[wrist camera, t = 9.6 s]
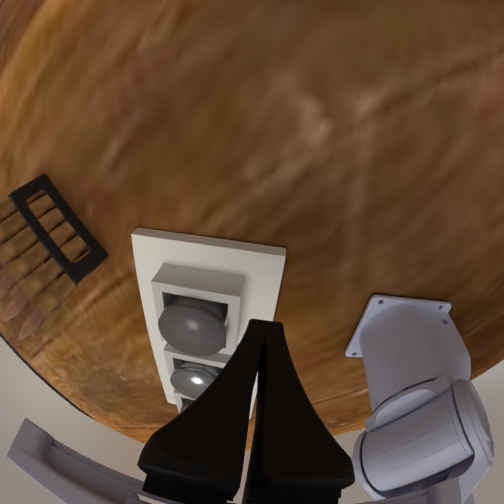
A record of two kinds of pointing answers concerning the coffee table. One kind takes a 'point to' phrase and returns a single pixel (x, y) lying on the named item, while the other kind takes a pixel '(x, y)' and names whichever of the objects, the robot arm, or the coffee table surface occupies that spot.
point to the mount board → (204, 289)
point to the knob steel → (193, 378)
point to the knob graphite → (194, 325)
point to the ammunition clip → (43, 250)
